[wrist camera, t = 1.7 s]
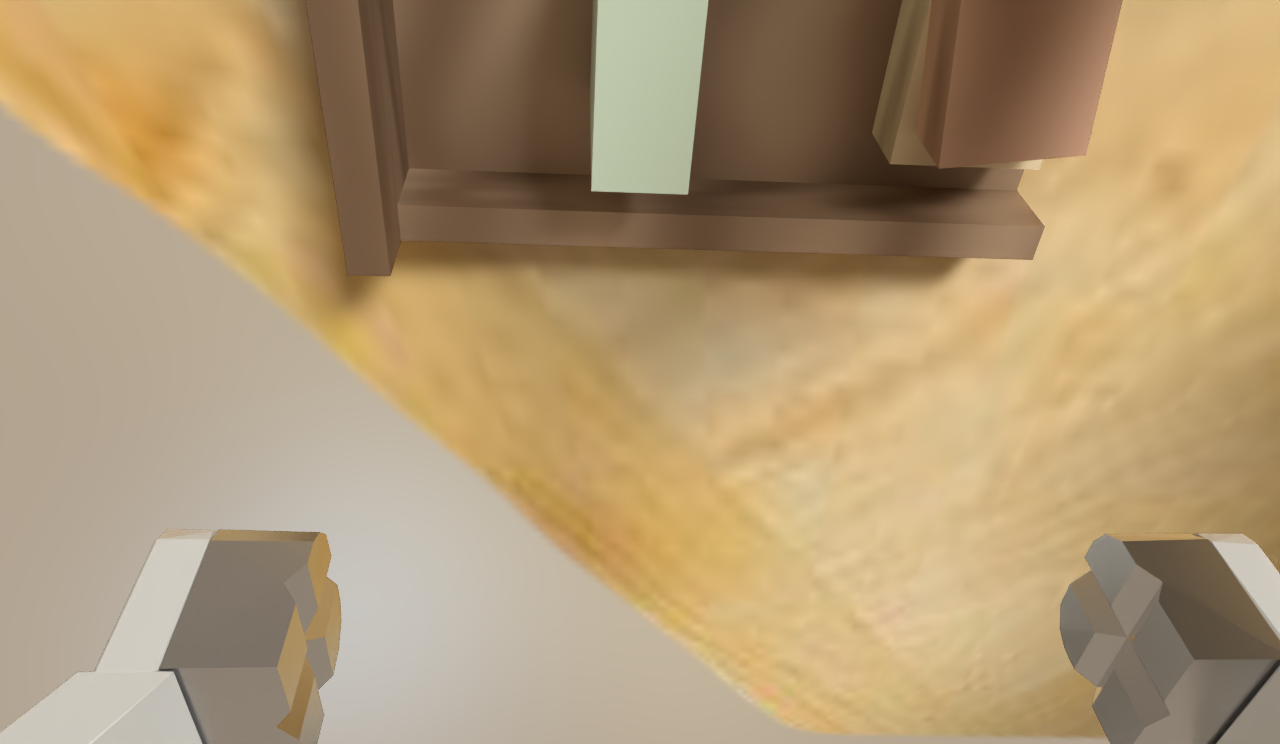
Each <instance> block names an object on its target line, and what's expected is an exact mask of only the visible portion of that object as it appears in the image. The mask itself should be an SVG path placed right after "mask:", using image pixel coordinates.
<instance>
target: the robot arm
mask: <svg viewBox="0 0 1280 744" xmlns="http://www.w3.org/2000/svg"><path fill="white" fill-rule="evenodd" d="M1085 559H1086V561H1087V563H1088V565H1089V567H1090V570H1091V571H1089V572H1088V573H1086V574H1085V575H1083V576H1082V577H1080V578H1079V579H1077V580H1076V581H1074V582H1073V583H1071V584H1070V586H1069V588H1068V590H1067V592H1066V594H1065V596H1064V598H1063V601H1062V603H1061V607H1060V631H1061V636H1062V640H1063V644H1064V648H1065V650H1066V652H1067V655H1068V657H1069V659H1070V661H1071V663H1072V665H1073V668H1074V669H1075V670H1076V671H1077V672H1079V673H1080V674H1081V675H1082V676H1084V677H1085V678H1086V679H1087V680H1089V681H1090V682H1091V683H1092V684H1094V685H1095V686H1096V691H1095V695H1094V699H1093V703H1092V707H1093V709H1094V711H1095V713H1096V715H1097V717H1098V719H1099V721H1100V723H1101V725H1102V727H1103V730H1104V732H1105V734H1106V736H1107V738H1108V740H1109V742H1110V744H1280V573H1279V572H1278V571H1277V569H1276V568H1275V567H1274V565H1273V564H1272V563H1271V562H1270V560H1269V559H1268V558H1267V556H1266V555H1265V554H1264V552H1263V551H1262V550H1261V548H1260V547H1259V546H1258V544H1256V543H1255V542H1254V541H1253V540H1251V539H1250V538H1248V537H1247V536H1245V535H1244V534H1189V533H1146V534H1104V535H1103V536H1101V537H1100V538H1098V539H1096V540H1095V541H1093V543H1092V545H1091V547H1090V549H1089V550H1088V552H1087V554H1086V556H1085ZM330 560H331V552H330V548H329V544H328V540H327V536H326V534H324V533H320V532H290V531H253V530H193V529H191V530H190V529H167V530H166V531H165V532H164V533H163V534H162V535H161V536H160V537H159V538H158V539H157V540H156V541H155V542H154V544H153V546H152V548H151V550H150V552H149V554H148V556H147V558H146V561H145V563H144V565H143V567H142V569H141V571H140V573H139V576H138V578H137V580H136V582H135V584H134V586H133V588H132V591H131V593H130V595H129V597H128V599H127V601H126V603H125V606H124V608H123V610H122V612H121V614H120V616H119V619H118V621H117V623H116V625H115V627H114V629H113V631H112V634H111V636H110V638H109V640H108V642H107V644H106V646H105V649H104V651H103V653H102V655H101V657H100V659H99V661H98V664H97V666H96V668H95V670H94V671H92V672H77V673H75V674H74V675H73V676H72V677H70V678H69V679H68V680H66V681H65V682H64V683H63V684H61V685H60V686H59V687H57V689H55V690H54V691H52V692H51V693H50V694H49V695H47V696H46V697H45V698H43V699H42V700H41V701H40V702H38V703H37V704H36V705H35V706H33V707H32V708H31V709H30V710H28V711H27V712H26V713H24V714H23V715H22V716H21V717H19V718H18V719H17V720H16V721H14V722H13V723H12V724H10V725H9V726H8V727H7V728H5V729H4V730H3V731H1V732H0V744H317V742H318V738H319V734H320V730H321V725H322V721H323V717H324V713H323V709H322V705H321V701H320V696H319V692H318V690H319V689H320V688H321V687H322V686H323V685H324V684H325V683H326V682H327V681H328V680H329V679H330V678H331V677H332V676H333V674H334V669H335V664H336V660H337V655H338V650H339V640H340V630H341V605H340V597H339V591H338V586H337V584H336V583H334V582H333V581H332V580H330V579H329V578H328V577H327V576H326V575H327V571H328V567H329V563H330Z"/></svg>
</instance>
